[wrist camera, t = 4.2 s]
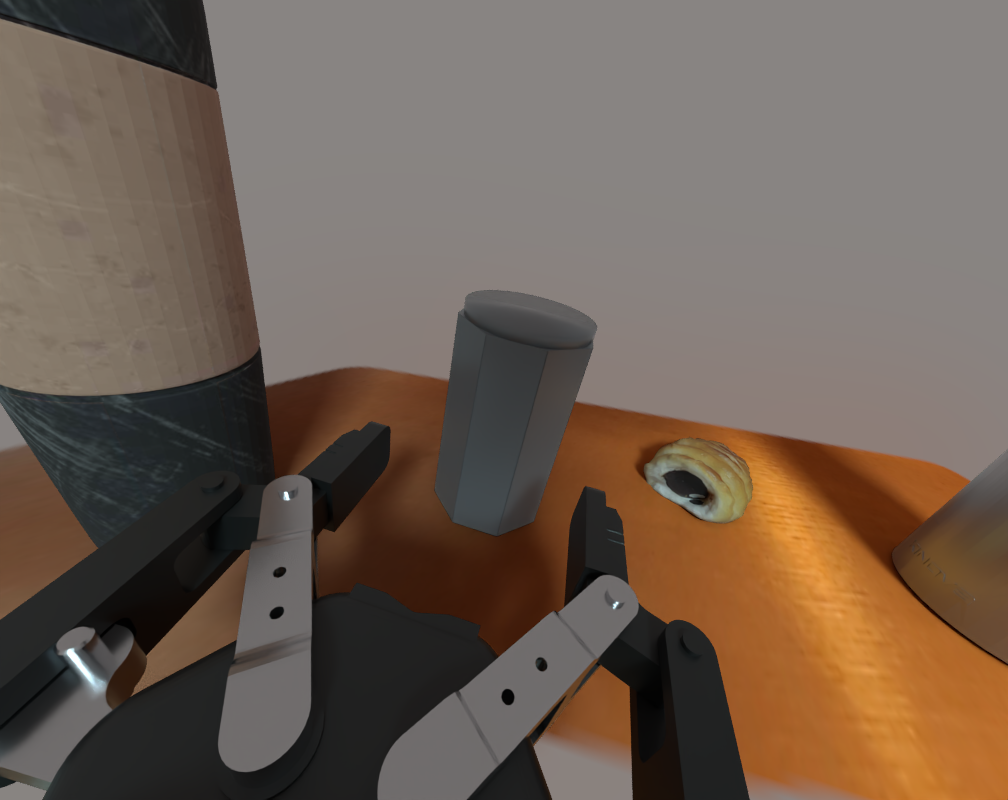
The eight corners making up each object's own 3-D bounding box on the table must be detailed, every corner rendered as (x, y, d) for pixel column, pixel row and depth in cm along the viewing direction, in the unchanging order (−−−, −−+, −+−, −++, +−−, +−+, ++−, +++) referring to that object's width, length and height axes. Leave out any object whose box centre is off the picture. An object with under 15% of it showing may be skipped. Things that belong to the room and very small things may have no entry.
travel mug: (305, 513, 19) (241, -27, 9) (93, 608, 14) (-608, -447, 4) (254, 438, 23) (172, 7, 13) (75, 489, 18) (-290, -176, 8)
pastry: (682, 445, 33) (701, 411, 32) (758, 490, 30) (785, 455, 28) (632, 480, 27) (653, 441, 25) (721, 544, 23) (752, 503, 22)
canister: (542, 474, 25) (596, 311, 20) (528, 546, 20) (598, 349, 14) (458, 448, 26) (485, 283, 20) (421, 512, 20) (445, 309, 15)
